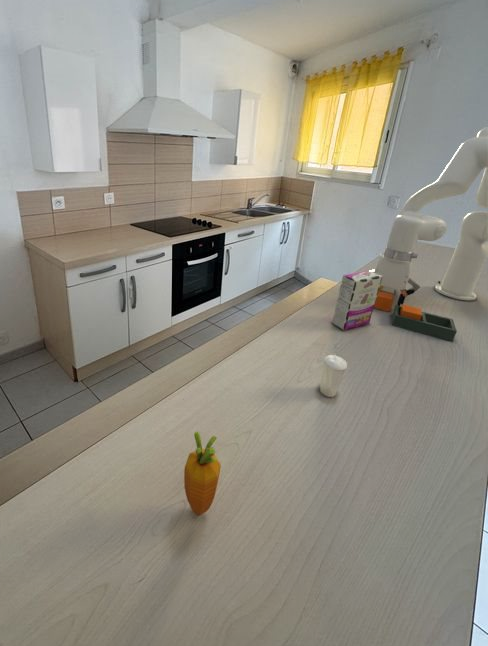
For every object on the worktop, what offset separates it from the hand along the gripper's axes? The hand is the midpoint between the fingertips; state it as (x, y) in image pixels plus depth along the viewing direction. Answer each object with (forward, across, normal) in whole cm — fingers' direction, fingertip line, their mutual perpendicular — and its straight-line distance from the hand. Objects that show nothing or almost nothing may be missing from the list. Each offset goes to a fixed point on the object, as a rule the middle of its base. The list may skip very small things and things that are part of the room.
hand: (382, 301), depth 110 cm
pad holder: (+2, -11, +8) cm, 14 cm away
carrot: (+4, +21, +92) cm, 94 cm away
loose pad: (+2, 0, 0) cm, 2 cm away
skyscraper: (+2, -1, -17) cm, 18 cm away
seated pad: (+2, -8, +8) cm, 11 cm away
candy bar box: (+3, +8, +19) cm, 20 cm away
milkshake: (+3, +9, +54) cm, 54 cm away
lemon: (+2, +3, -12) cm, 13 cm away
